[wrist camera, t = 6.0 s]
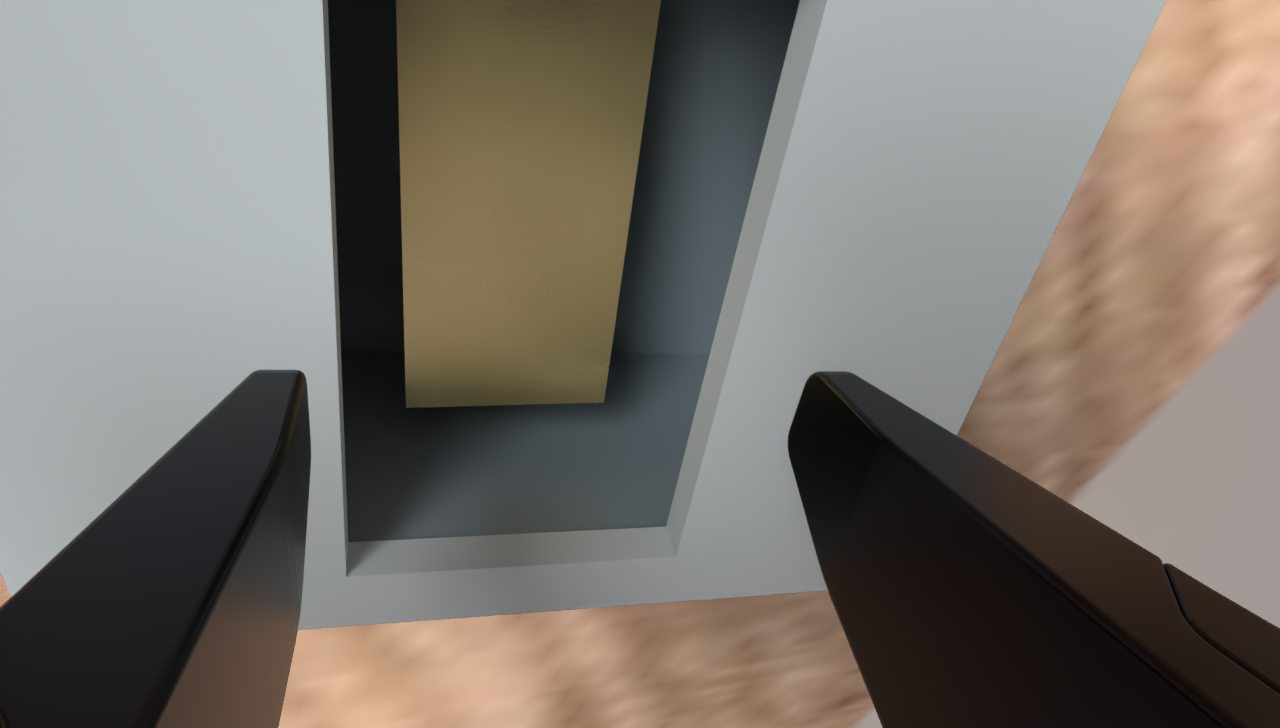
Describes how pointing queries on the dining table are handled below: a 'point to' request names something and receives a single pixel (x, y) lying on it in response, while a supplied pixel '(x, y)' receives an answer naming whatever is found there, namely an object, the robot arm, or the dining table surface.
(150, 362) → the box
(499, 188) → the wooden block
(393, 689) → the dining table surface
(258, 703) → the robot arm
